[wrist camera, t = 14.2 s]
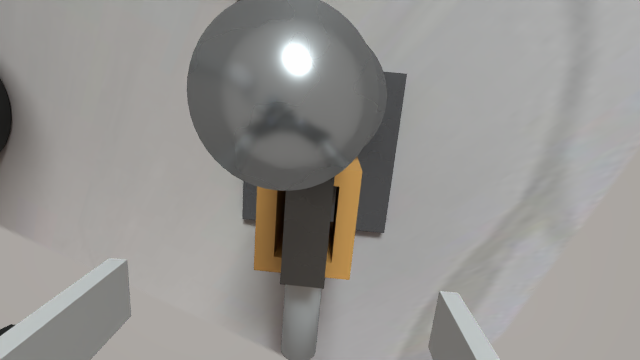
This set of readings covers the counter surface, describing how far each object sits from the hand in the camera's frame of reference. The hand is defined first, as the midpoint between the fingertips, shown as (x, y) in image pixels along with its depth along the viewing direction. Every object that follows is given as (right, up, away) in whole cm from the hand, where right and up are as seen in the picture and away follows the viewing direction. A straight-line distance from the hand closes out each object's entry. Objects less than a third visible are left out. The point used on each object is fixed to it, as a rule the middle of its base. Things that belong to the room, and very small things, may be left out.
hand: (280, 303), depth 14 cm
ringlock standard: (+2, +10, +22) cm, 24 cm away
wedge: (+1, +5, +21) cm, 21 cm away
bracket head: (+1, -1, +18) cm, 18 cm away
